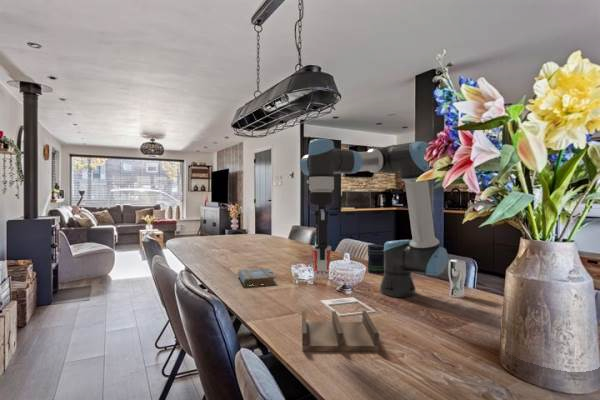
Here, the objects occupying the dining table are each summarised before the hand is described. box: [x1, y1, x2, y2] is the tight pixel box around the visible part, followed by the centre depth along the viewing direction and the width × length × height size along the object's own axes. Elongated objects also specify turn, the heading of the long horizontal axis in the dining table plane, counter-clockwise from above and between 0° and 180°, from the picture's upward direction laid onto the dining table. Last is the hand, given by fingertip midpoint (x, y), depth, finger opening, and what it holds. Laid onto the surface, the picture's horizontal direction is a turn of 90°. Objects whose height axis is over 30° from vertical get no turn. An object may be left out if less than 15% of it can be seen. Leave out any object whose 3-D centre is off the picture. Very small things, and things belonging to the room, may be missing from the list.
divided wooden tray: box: [301, 310, 380, 352], centre depth 103 cm, size 21×18×5 cm
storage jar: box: [367, 243, 384, 275], centre depth 192 cm, size 10×10×15 cm
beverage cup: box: [310, 244, 332, 279], centre depth 103 cm, size 6×6×14 cm
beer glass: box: [447, 258, 467, 299], centre depth 146 cm, size 7×7×15 cm
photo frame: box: [320, 296, 376, 318], centre depth 132 cm, size 15×1×18 cm
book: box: [237, 267, 277, 287], centre depth 174 cm, size 21×16×5 cm
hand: (321, 268), depth 103 cm, fingers closed on beverage cup, 6 cm apart
